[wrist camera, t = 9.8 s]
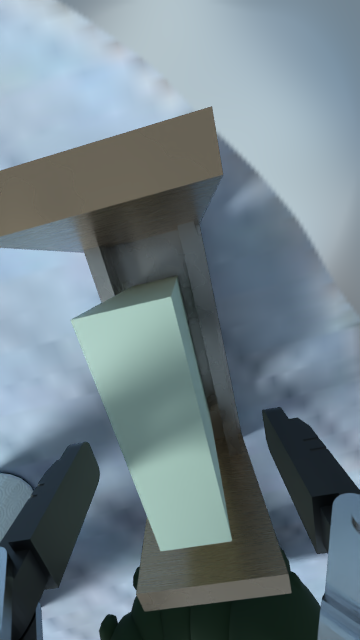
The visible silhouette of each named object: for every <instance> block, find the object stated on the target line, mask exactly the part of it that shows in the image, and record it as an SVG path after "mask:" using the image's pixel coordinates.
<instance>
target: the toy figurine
mask: <svg viewBox="0 0 360 640" xmlns="http://www.w3.org/2000/svg"><path fill="white" fill-rule="evenodd" d="M280 550H281V553H282V556H283V559H284V562H285V565H286V568H287V571H288V574H289V580H290V586H291V592H292V593H289V594H281V595H273V596H265V597H257V598H249V599H241V600H233V601H225V602H217V603H209V604H201V605H193V606H185V607H177V608H169V609H161V610H153V611H144V609H143V607H142V605H141V603H140V601H139V599H138V597H137V596H136V598H135V600H134V603H133V607H132V611H131V612H130V613H128V614H127V615H125V616H123V618H122V619H121V620H120V622H119V623H118V622H117V618H116V616H114V615H110V614H108V615H107V616H106V617H105V619H104V620H103V621H102V623H101V627H100V630H99V633H100V639H101V640H317V639H318V628H319V618H320V609H321V607H320V605H319V603H318V602H317V600H316V599H315V597H314V596H313V595H312V593H311V592H310V591H309V589H308V588H307V587H306V586H305V585H304V584H303V583H302V582H301V581H300V579H299V577H298V576H297V575H296V574H295V573H294V572H291V571H290V565H289V561H288V559H287V557H286V555H285V553H284V551H283V550H282V549H281V548H280ZM139 570H140V567H138V568H137V569H136V572H135V574H134V576H133V586H134V588H135V589H136V590H137V585H138V577H139Z"/></svg>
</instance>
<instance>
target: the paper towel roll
mask: <svg viewBox="0 0 360 640" xmlns="http://www.w3.org/2000/svg"><path fill="white" fill-rule="evenodd" d="M32 493H33V490H32V488H31V486H30V485H29V484H28V483H26V482H25V481H24V480H22V479H21V478H19V477H16V476H14V475H11V474H3V473H0V542H1V540H2V539H3V537H4V536H5V534H6V533H7V531H8V530H9V528H10V527H11V525H12V523H13V522H14V520H15V519H16V517H17V516H18V514H19V513H20V511H21V510H22V508H23V507H24V505H25V503H26V502H27V500H28V499H29V498H30V497H31V494H32Z"/></svg>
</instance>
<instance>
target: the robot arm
mask: <svg viewBox="0 0 360 640" xmlns="http://www.w3.org/2000/svg"><path fill="white" fill-rule="evenodd" d="M262 415H263V421H264V428H265V434H266V440H267V444H268V447H269V450H270V453H271V455H272V457H273V460H274V462H275V464H276V466H277V468H278V470H279V473H280V475H281V477H282V479H283V481H284V483H285V486H286V488H287V490H288V492H289V494H290V496H291V499H292V501H293V503H294V505H295V507H296V509H297V512H298V514H299V516H300V518H301V520H302V522H303V525H304V527H305V529H306V531H307V533H308V535H309V538H310V540H311V542H312V544H313V546H314V548H315V551H316V553H317V554H322V553H328V564H327V575H326V586H325V593H324V595H323V597H322V602H321V609H320V618H319V628H318V639H317V640H360V490H359V489H358V488H357V486H356V485H355V484H354V482H353V481H352V480H351V479H350V477H349V476H348V475H347V473H346V472H345V471H344V470H343V468H342V467H341V466H340V464H339V463H338V462H337V460H336V459H335V458H334V457H333V455H332V454H331V453H330V451H329V450H328V449H326V446H325V445H324V444H323V442H322V441H321V440H320V439H319V438H318V436H317V435H316V433H315V432H314V431H313V430H312V428H311V427H310V426H309V425H308V424H306V423H305V422H303V421H302V420H300V419H299V418H292V419H288V417H287V416H286V414H285V413H284V411H283V410H282V408H280V407H277V408H271V409H266V410H262ZM99 476H100V471H99V466H98V464H97V461H96V459H95V457H94V454H93V452H92V449H91V447H90V445H89V443H88V442H83V443H78V444H73V445H69V446H68V447H67V449H66V450H65V452H64V453H63V455H62V457H61V458H60V460H57V461H56V462H55V463H54V464H53V465H52V466H51V467H50V468H49V469H48V470H47V471H46V473H45V474H44V476H43V477H42V479H41V480H40V482H39V483H38V487H36V488H35V490H34V491H33V493H32V494H31V497H30V498H29V499H28V500H27V502H26V503H25V505H24V507H23V508H22V510H21V511H20V513H19V514H18V516H17V517H16V519H15V520H14V522H13V523H12V525H11V527H10V528H9V530H8V531H7V533H6V534H5V536H4V537H3V539H2V540H1V542H0V640H43V630H42V610H41V605H40V603H39V601H40V598H41V596H42V594H43V591H44V590H46V589H53V588H59V585H60V582H61V580H62V577H63V574H64V572H65V569H66V567H67V564H68V561H69V559H70V556H71V553H72V551H73V548H74V546H75V543H76V540H77V538H78V535H79V532H80V530H81V527H82V525H83V522H84V519H85V517H86V514H87V511H88V509H89V506H90V504H91V501H92V498H93V496H94V493H95V490H96V488H97V485H98V482H99Z"/></svg>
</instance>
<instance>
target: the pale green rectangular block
mask: <svg viewBox="0 0 360 640" xmlns="http://www.w3.org/2000/svg"><path fill="white" fill-rule="evenodd" d="M71 323H72V325H73V328H74V330H75V333H76V335H77V338H78V340H79V343H80V346H81V348H82V351H83V353H84V356H85V358H86V361H87V364H88V366H89V369H90V371H91V374H92V376H93V379H94V382H95V384H96V387H97V389H98V392H99V394H100V397H101V399H102V402H103V405H104V407H105V410H106V412H107V415H108V417H109V420H110V423H111V425H112V428H113V430H114V433H115V435H116V438H117V440H118V443H119V446H120V448H121V451H122V453H123V456H124V458H125V461H126V464H127V466H128V469H129V471H130V474H131V476H132V479H133V482H134V484H135V487H136V489H137V492H138V494H139V497H140V499H141V502H142V505H143V507H144V510H145V512H146V515H147V517H148V520H149V523H150V525H151V528H152V530H153V533H154V535H155V538H156V540H157V543H158V546H159V548H160V551H167V550H174V549H181V548H188V547H195V546H203V545H210V544H217V543H224V542H231V541H232V537H231V531H230V526H229V520H228V514H227V509H226V503H225V497H224V491H223V486H222V480H221V474H220V469H219V463H218V457H217V451H216V446H215V440H214V434H213V429H212V423H211V417H210V411H209V407H208V403H207V399H206V394H205V390H204V386H203V382H202V377H201V373H200V369H199V365H198V361H197V356H196V352H195V348H194V344H193V339H192V335H191V331H190V327H189V322H188V318H187V314H186V310H185V305H184V301H183V297H182V293H181V288H180V284H179V280H178V276H174V277H169V278H165V279H161V280H157V281H153V282H149V283H144V284H140V285H136V286H132V287H130V288H128V289H126V290H124V291H123V292H121V293H119V294H117V295H115V296H114V297H112V298H110V299H108V300H106V301H104V302H103V303H101V304H99V305H97V306H95V307H93V308H92V309H90V310H88V311H86V312H84V313H83V314H81V315H79V316H77V317H75V318H73V319H72V320H71Z"/></svg>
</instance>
